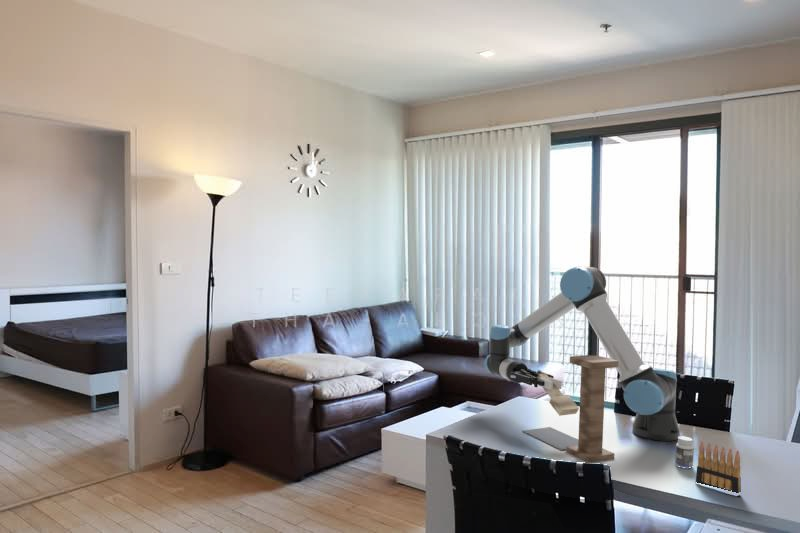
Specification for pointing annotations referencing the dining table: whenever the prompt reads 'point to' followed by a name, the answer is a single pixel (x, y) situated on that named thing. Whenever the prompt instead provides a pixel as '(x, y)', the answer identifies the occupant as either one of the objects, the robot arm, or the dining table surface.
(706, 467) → the ammunition clip
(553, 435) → the mat
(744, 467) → the dining table surface
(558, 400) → the paddle
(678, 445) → the pill bottle
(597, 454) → the stand
